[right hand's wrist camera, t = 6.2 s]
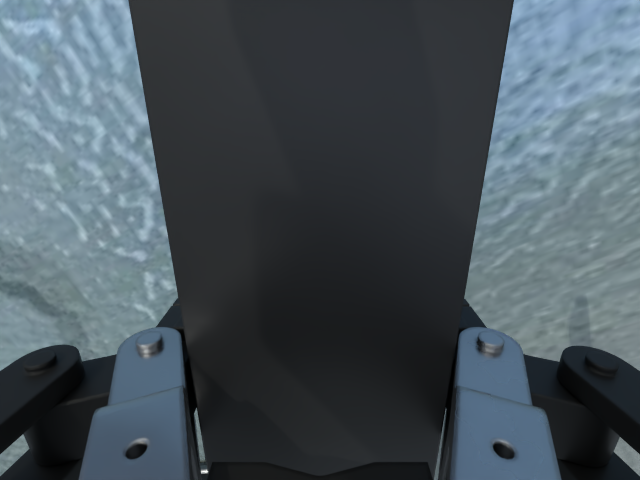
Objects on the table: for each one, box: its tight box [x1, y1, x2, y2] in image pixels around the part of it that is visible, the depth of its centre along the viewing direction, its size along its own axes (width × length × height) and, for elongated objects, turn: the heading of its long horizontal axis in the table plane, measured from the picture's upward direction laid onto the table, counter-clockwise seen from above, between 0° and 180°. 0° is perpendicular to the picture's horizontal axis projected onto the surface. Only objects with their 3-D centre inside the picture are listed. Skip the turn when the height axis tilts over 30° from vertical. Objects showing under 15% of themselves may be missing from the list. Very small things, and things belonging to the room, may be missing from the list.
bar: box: [129, 0, 514, 480], centre depth 8 cm, size 22×6×8 cm, turn 0°
